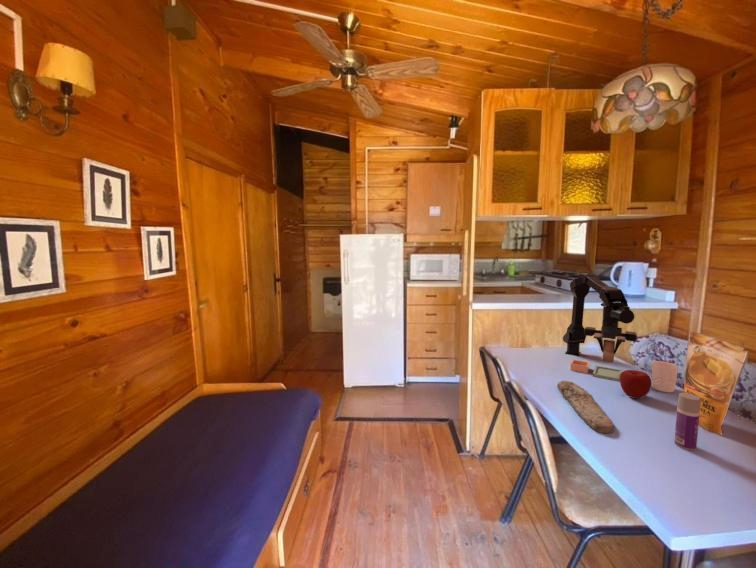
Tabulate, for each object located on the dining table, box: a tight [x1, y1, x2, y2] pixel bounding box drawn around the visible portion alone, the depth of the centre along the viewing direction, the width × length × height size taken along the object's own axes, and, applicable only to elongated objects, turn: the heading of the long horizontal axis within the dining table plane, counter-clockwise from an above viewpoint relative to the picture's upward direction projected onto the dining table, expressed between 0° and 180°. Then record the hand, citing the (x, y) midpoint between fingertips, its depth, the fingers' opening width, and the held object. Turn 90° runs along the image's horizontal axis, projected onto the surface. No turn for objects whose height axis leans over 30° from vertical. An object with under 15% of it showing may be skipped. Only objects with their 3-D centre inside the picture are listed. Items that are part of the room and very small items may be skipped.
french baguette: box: [556, 380, 614, 435], centre depth 120 cm, size 35×5×10 cm
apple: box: [619, 369, 652, 399], centre depth 127 cm, size 10×10×10 cm
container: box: [673, 392, 700, 451], centre depth 96 cm, size 5×5×15 cm
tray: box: [592, 365, 623, 382], centre depth 147 cm, size 12×10×2 cm
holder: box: [569, 359, 591, 374], centre depth 154 cm, size 7×7×4 cm
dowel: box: [602, 338, 616, 363], centre depth 146 cm, size 4×4×9 cm
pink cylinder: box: [651, 360, 679, 393], centre depth 132 cm, size 8×8×10 cm
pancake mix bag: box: [683, 331, 749, 436], centre depth 107 cm, size 7×19×28 cm, turn 172°
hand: (608, 352), depth 146 cm, fingers closed on dowel, 4 cm apart
